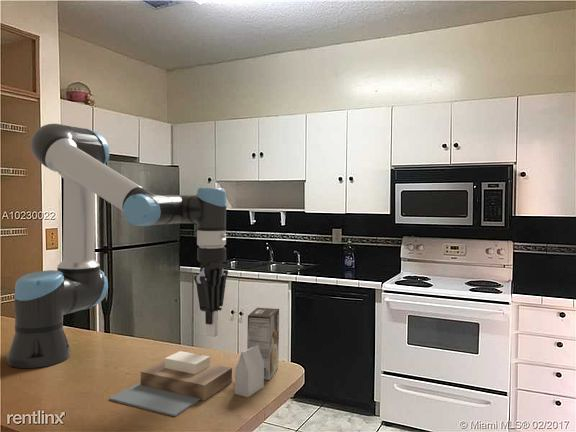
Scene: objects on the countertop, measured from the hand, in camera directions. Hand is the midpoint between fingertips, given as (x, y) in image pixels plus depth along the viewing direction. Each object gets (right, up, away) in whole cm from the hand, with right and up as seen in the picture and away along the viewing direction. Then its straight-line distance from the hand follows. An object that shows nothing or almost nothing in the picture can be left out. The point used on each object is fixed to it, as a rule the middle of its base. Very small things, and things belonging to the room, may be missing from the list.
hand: (211, 335), depth 125 cm
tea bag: (+11, -10, -13) cm, 20 cm away
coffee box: (+14, -9, -2) cm, 17 cm away
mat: (-9, -9, -20) cm, 24 cm away
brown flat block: (-4, -9, -10) cm, 14 cm away
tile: (-5, -6, -9) cm, 11 cm away
